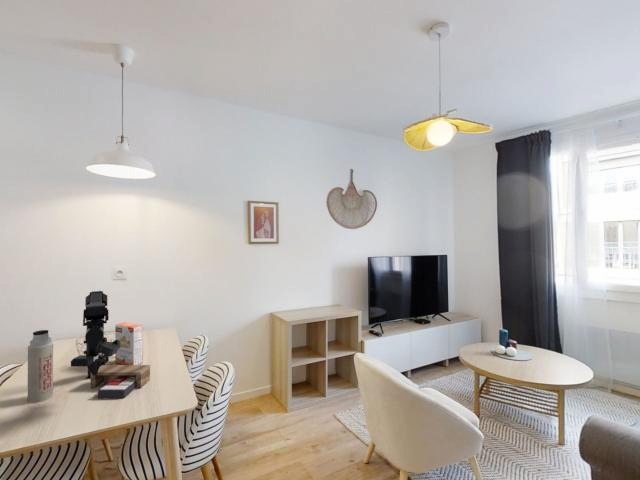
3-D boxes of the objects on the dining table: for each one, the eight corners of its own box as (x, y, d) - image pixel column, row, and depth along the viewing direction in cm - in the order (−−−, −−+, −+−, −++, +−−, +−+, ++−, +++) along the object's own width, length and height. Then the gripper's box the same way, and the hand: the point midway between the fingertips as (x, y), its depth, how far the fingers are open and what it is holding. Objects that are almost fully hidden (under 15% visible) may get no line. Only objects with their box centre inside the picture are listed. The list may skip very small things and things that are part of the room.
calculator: (143, 374, 147) (124, 388, 132) (143, 384, 147) (124, 399, 132) (119, 374, 147) (97, 388, 132) (119, 384, 146) (97, 399, 131)
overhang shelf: (90, 388, 140) (90, 372, 140) (102, 380, 148) (102, 365, 148) (140, 388, 141) (140, 372, 141) (149, 380, 149) (150, 365, 149)
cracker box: (114, 363, 168) (114, 324, 168) (125, 359, 173) (125, 321, 173) (132, 367, 162) (133, 327, 162) (143, 363, 168) (143, 324, 168)
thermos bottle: (56, 396, 133) (56, 330, 132) (31, 404, 126) (31, 335, 126) (48, 391, 137) (49, 327, 137) (24, 399, 130) (24, 332, 130)
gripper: (100, 344, 117) (99, 386, 118) (128, 329, 136) (128, 365, 136) (69, 344, 117) (69, 386, 117) (102, 329, 136) (102, 365, 136)
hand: (94, 375), depth 127 cm, fingers closed
